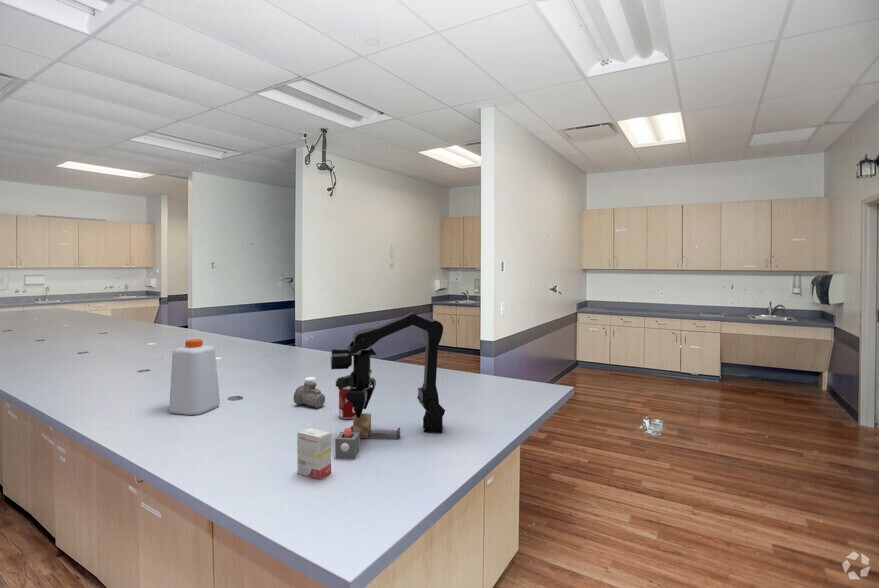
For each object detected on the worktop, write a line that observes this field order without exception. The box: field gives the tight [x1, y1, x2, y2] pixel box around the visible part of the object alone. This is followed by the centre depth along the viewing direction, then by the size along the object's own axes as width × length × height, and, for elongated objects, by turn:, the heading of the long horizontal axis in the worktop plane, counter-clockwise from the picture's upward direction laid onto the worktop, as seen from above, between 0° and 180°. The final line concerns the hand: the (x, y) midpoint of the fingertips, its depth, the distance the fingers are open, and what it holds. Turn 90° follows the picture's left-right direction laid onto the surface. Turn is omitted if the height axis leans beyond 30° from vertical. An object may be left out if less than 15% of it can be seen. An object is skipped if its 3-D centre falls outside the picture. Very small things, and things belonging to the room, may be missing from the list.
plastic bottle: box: [168, 338, 221, 416], centre depth 179 cm, size 15×15×28 cm
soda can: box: [338, 386, 356, 420], centre depth 172 cm, size 7×7×12 cm
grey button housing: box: [334, 431, 361, 460], centre depth 138 cm, size 6×6×6 cm
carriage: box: [352, 412, 372, 439], centre depth 153 cm, size 5×5×7 cm
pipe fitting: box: [293, 380, 326, 409], centre depth 186 cm, size 12×8×10 cm
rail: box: [350, 425, 401, 441], centre depth 153 cm, size 17×3×3 cm, turn 87°
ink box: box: [296, 427, 332, 480], centre depth 125 cm, size 9×5×12 cm, turn 63°
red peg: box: [343, 427, 351, 438], centre depth 138 cm, size 2×2×4 cm
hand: (361, 413), depth 153 cm, fingers open, 9 cm apart
